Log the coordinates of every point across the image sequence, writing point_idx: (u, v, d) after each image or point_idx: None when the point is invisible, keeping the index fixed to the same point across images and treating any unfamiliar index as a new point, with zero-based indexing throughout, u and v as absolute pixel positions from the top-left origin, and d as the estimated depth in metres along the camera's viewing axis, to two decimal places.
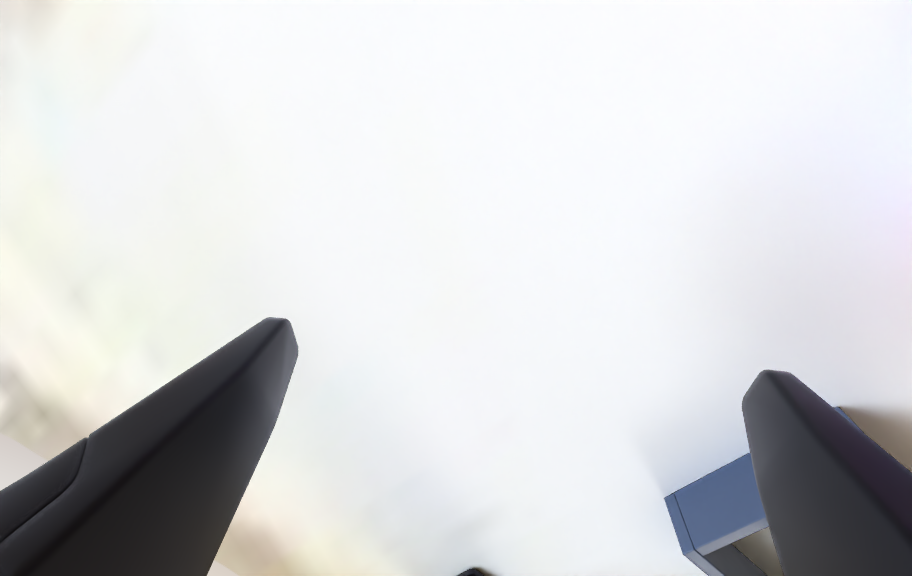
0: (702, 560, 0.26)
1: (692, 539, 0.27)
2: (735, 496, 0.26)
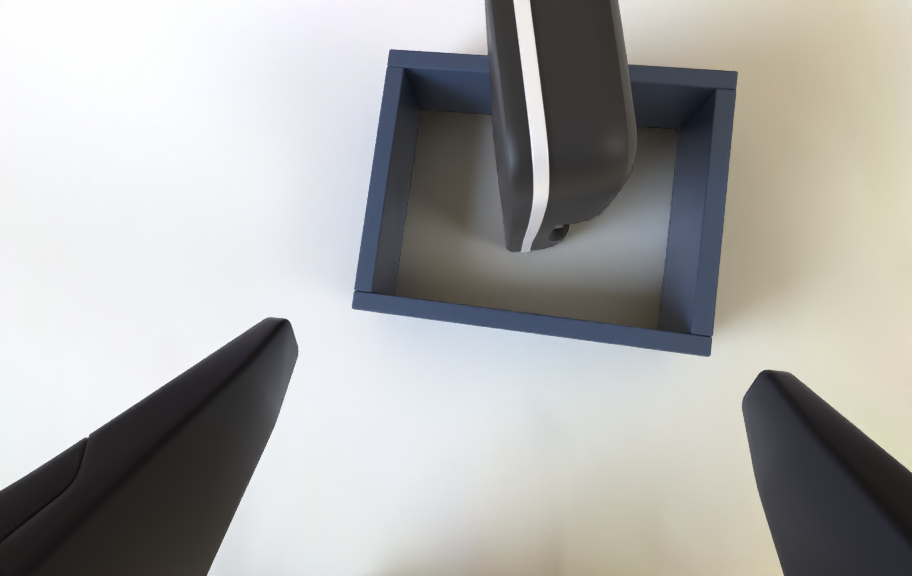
0: (376, 298, 0.19)
1: None
2: None
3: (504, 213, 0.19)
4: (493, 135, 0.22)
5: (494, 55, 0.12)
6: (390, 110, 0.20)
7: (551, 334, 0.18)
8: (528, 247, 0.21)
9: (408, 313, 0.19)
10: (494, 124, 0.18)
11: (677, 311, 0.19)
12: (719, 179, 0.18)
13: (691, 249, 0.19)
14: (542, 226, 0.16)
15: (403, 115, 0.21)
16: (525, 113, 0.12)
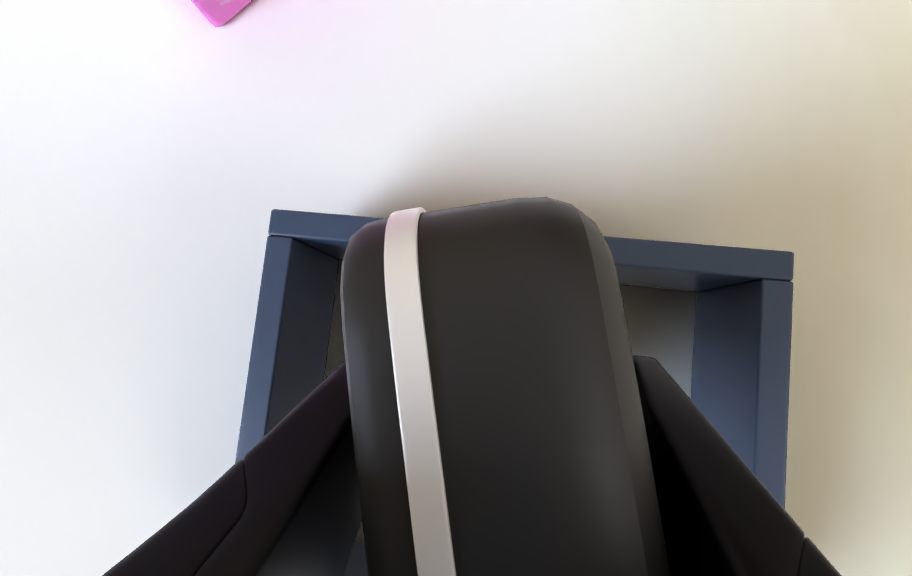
0: None
1: None
2: None
3: None
4: None
5: (354, 433, 0.05)
6: (272, 304, 0.13)
7: None
8: None
9: None
10: None
11: None
12: (775, 424, 0.12)
13: None
14: None
15: (298, 299, 0.14)
16: None
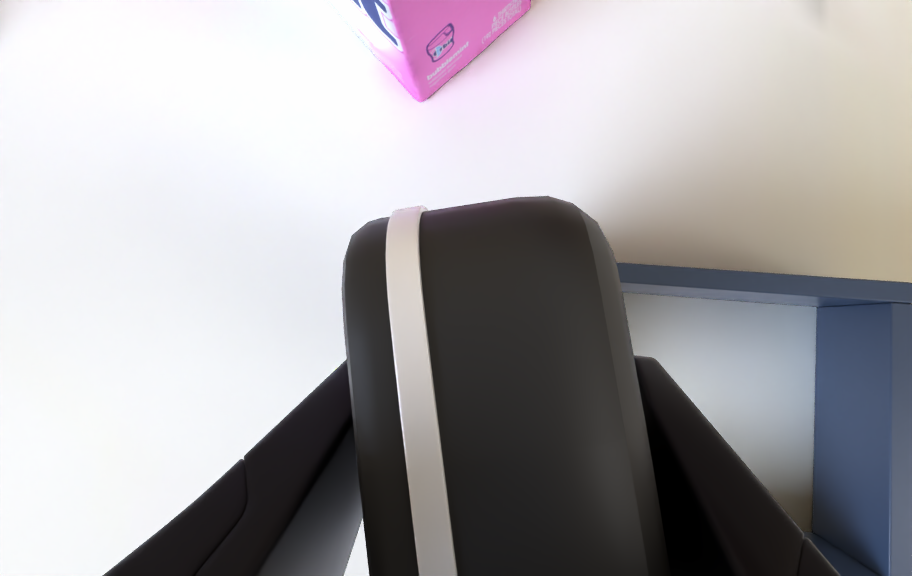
0: None
1: None
2: None
3: None
4: None
5: (355, 431, 0.05)
6: None
7: None
8: None
9: None
10: None
11: (851, 533, 0.18)
12: (904, 405, 0.17)
13: (869, 472, 0.17)
14: None
15: None
16: None
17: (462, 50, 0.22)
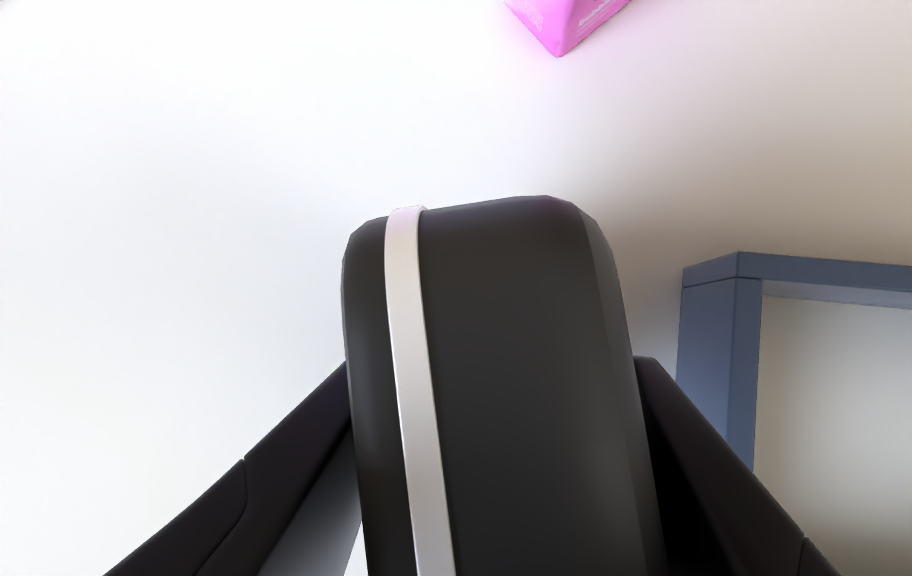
0: None
1: None
2: None
3: None
4: None
5: (353, 430, 0.05)
6: (749, 345, 0.13)
7: None
8: None
9: None
10: None
11: None
12: None
13: None
14: None
15: None
16: None
17: None
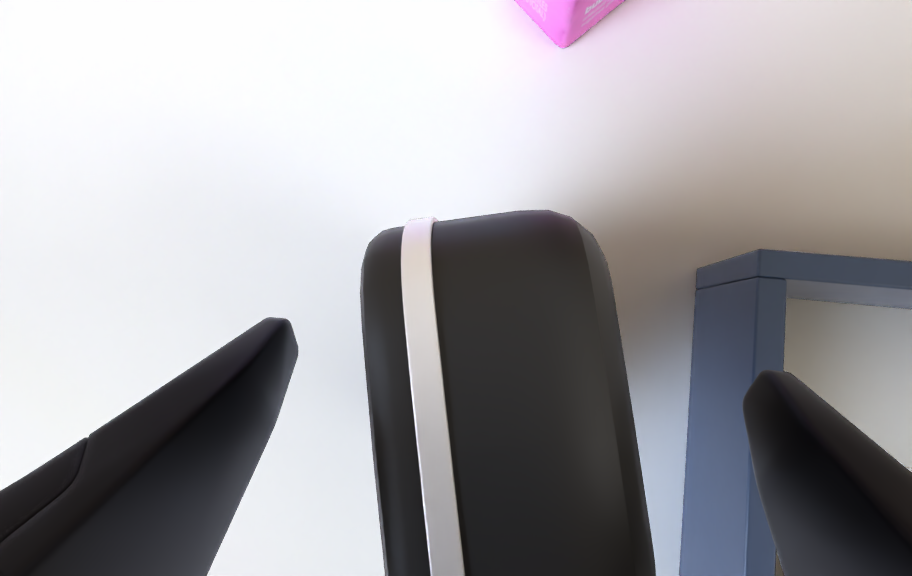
0: None
1: None
2: (713, 497, 0.14)
3: None
4: None
5: (371, 421, 0.06)
6: (772, 350, 0.12)
7: None
8: None
9: None
10: None
11: None
12: None
13: None
14: None
15: None
16: (428, 572, 0.06)
17: None
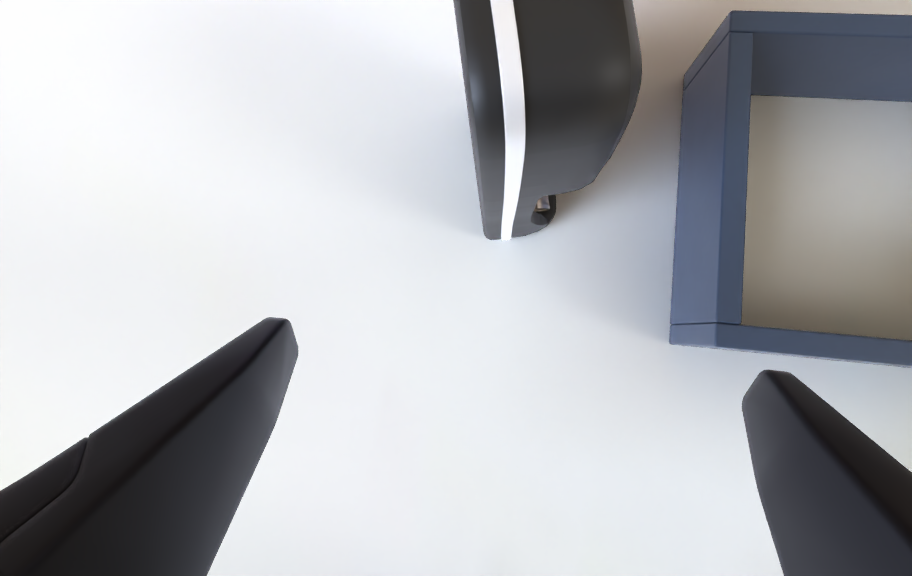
0: (751, 332, 0.14)
1: (708, 320, 0.15)
2: (696, 230, 0.17)
3: None
4: None
5: None
6: (742, 87, 0.15)
7: None
8: (508, 232, 0.18)
9: (798, 351, 0.14)
10: None
11: None
12: None
13: None
14: (522, 197, 0.13)
15: None
16: (491, 24, 0.09)
17: None
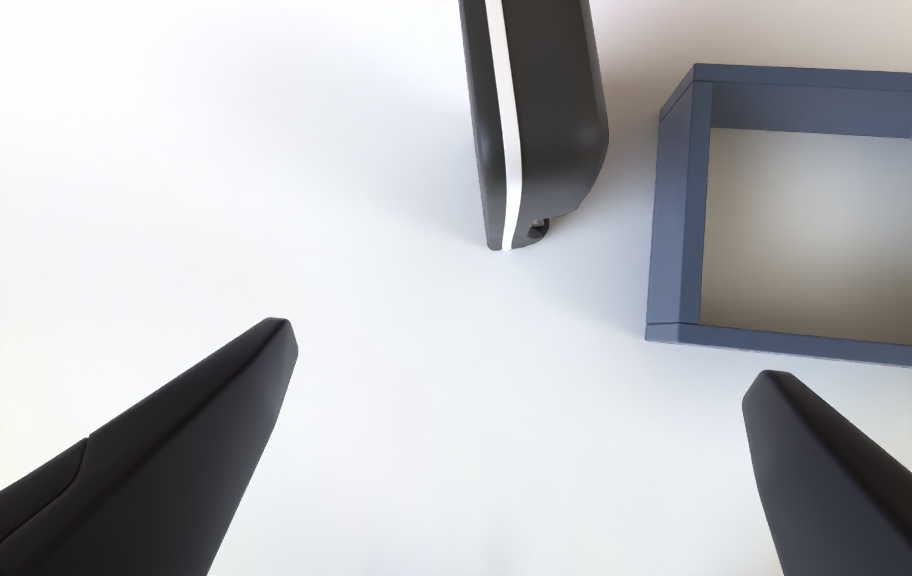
0: (706, 330, 0.18)
1: (673, 320, 0.18)
2: (667, 245, 0.20)
3: (483, 210, 0.19)
4: None
5: (466, 47, 0.12)
6: (702, 127, 0.18)
7: (911, 365, 0.17)
8: (508, 245, 0.21)
9: (745, 346, 0.17)
10: (472, 121, 0.19)
11: None
12: None
13: None
14: (519, 220, 0.16)
15: None
16: (497, 103, 0.12)
17: None
